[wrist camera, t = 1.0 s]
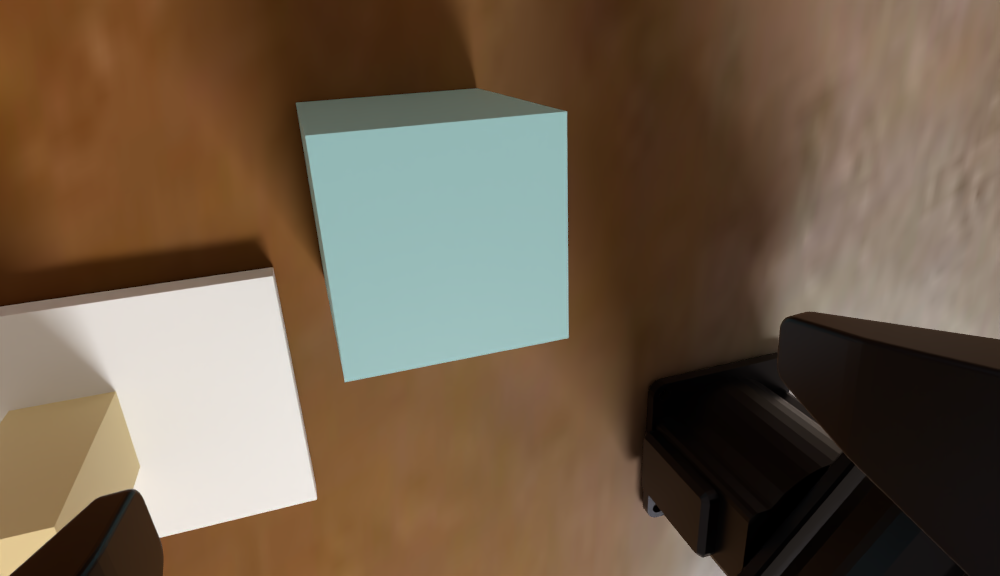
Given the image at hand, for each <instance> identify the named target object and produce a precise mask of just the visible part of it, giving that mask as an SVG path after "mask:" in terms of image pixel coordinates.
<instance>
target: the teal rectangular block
mask: <svg viewBox="0 0 1000 576" xmlns="http://www.w3.org/2000/svg"><path fill="white" fill-rule="evenodd" d="M296 108H297V114H298V120H299V126H300V132H301V138H302V144H303V150H304V156H305V162H306V168H307V174H308V181H309V187H310V193H311V199H312V205H313V211H314V217H315V223H316V229H317V235H318V241H319V247H320V253H321V260H322V266H323V272H324V278H325V283H326V288H327V293H328V298H329V303H330V308H331V314H332V319H333V324H334V329H335V334H336V339H337V344H338V349H339V354H340V359H341V364H342V369H343V375H344V380H345V382H348V381H353V380H358V379H364V378H369V377H374V376H379V375H384V374H389V373H394V372H399V371H404V370H409V369H414V368H419V367H424V366H429V365H435V364H440V363H445V362H450V361H455V360H460V359H465V358H470V357H475V356H480V355H485V354H490V353H495V352H500V351H505V350H511V349H516V348H521V347H526V346H531V345H536V344H541V343H546V342H551V341H556V340H561V339H566V338H569V323H568V181H567V111H564V110H560V109H556V108H552V107H548V106H544V105H540V104H536V103H533V102H529V101H525V100H521V99H517V98H513V97H509V96H505V95H502V94H498V93H494V92H490V91H486V90H482V89H478V88H474V89H461V90H448V91H436V92H423V93H410V94H398V95H385V96H372V97H360V98H347V99H334V100H322V101H309V102H296Z"/></svg>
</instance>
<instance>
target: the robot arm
mask: <svg viewBox="0 0 1000 576" xmlns="http://www.w3.org/2000/svg"><path fill="white" fill-rule="evenodd" d="M663 390H665V391H664V393H663V394H662V395H660V393H661V392H662V391H663ZM789 390H790V391H791V392H792V393H793V394H794V395H795V397H796V398H795V397H794V396H792V395H791V394H790V393H789ZM659 395H660V396H659ZM641 485H642V488H643V508H644V509H645V510H646V512H647V513H648V514H649V515H650V516H651V517H659V516H662V515H665V516H666V518H667V519H668V520H669V521H670V522H671V524H672V525H673V526H674V527H675V529H676V530H677V531H678V532H679V534H680V535H681V536H682V537H683V539H684V540H685V541H686V542H687V543H688V545H689V546H690V547H691V548H692V550H693V551H694V552H695V553H696V554H698V555H699V556H701V557H706V556H709V555H710V556H711V557H712V559H713V560H714V561H715V562H716V563H717V565H718V566H719V567H720V568H721V569H722V571H723V572H724V573H725V574H726V575H727V576H1000V339H993V338H986V337H979V336H973V335H966V334H959V333H952V332H946V331H939V330H932V329H925V328H919V327H912V326H905V325H898V324H891V323H885V322H878V321H871V320H864V319H858V318H851V317H844V316H837V315H831V314H824V313H817V312H804V313H800V314H797V315H793V316H789V317H787V318H785V319H784V320H783V322H782V324H781V326H780V334H779V346H778V353H774V354H769V355H765V356H760V357H756V358H752V359H747V360H743V361H738V362H734V363H729V364H725V365H720V366H716V367H712V368H707V369H703V370H698V371H694V372H689V373H685V374H681V375H676V376H672V377H667V378H663V379H659V380H657V381H655V382H654V383H653V384H652V385H651V386H650V388H649V391H648V406H647V427H646V434H645V437H644V441H643V463H642V484H641ZM655 504H656V505H655ZM9 576H163V549H162V544H161V541H160V538H159V535H158V533H157V530H156V528H155V525H154V523H153V521H152V518H151V516H150V513H149V511H148V508H147V506H146V503H145V501H144V499H143V497H142V495H141V494H140V492H139V491H137V490H135V489H127V490H123V491H119V492H115V493H112V494H108V495H104V496H100V497H98V498H96V499H95V500H94V501H92V502H91V503H90V504H89V505H88V506H87V507H86V508H85V509H83V510H82V511H81V512H80V513H79V514H78V515H77V516H76V517H74V518H73V519H72V520H71V521H70V522H69V523H68V524H67V525H65V526H64V527H63V528H62V529H61V530H60V531H59V532H58V533H56V534H55V535H54V536H53V537H52V538H51V539H50V540H49V541H47V542H46V543H45V544H44V545H43V546H42V547H41V548H40V549H38V550H37V551H36V552H35V553H34V554H33V555H32V556H31V557H29V558H28V559H27V560H26V561H25V562H24V563H23V564H22V565H20V566H19V567H18V568H17V569H16V570H15V571H14V572H13V573H11V574H10V575H9Z"/></svg>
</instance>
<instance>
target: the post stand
mask: <svg viewBox="0 0 1000 576" xmlns="http://www.w3.org/2000/svg"><path fill="white" fill-rule="evenodd" d="M127 489H135V490H137V491H139V492H140V494H141V495H142V497H143V499H144V501H145V503H146V506H147V508H148V511H149V513H150V516H151V518H152V521H153V523H154V525H155V528H156V530H157V533H158V535H159V538H161V537H165V536H169V535H173V534H177V533H181V532H185V531H189V530H194V529H198V528H202V527H206V526H210V525H214V524H218V523H222V522H226V521H231V520H235V519H239V518H243V517H247V516H251V515H255V514H259V513H263V512H268V511H272V510H276V509H280V508H284V507H288V506H292V505H296V504H300V503H305V502H309V501H313V500H317V492H316V483H315V478H314V473H313V468H312V462H311V457H310V452H309V447H308V442H307V437H306V432H305V427H304V422H303V417H302V412H301V406H300V401H299V396H298V391H297V386H296V381H295V376H294V371H293V366H292V361H291V356H290V350H289V345H288V340H287V335H286V330H285V325H284V320H283V315H282V310H281V305H280V300H279V294H278V289H277V284H276V279H275V274H274V269H273V267H270V268H263V269H256V270H249V271H242V272H236V273H229V274H222V275H215V276H208V277H201V278H194V279H187V280H180V281H173V282H166V283H160V284H153V285H146V286H139V287H132V288H125V289H118V290H111V291H104V292H97V293H91V294H84V295H77V296H70V297H63V298H56V299H49V300H42V301H35V302H28V303H21V304H15V305H8V306H1V307H0V576H9V575H10V574H11V573H13V572H14V571H15V570H16V569H17V568H18V567H19V566H20V565H22V564H23V563H24V562H25V561H26V560H27V559H28V558H29V557H31V556H32V555H33V554H34V553H35V552H36V551H37V550H38V549H40V548H41V547H42V546H43V545H44V544H45V543H46V542H47V541H49V540H50V539H51V538H52V537H53V536H54V535H55V534H56V533H58V532H59V531H60V530H61V529H62V528H63V527H64V526H65V525H67V524H68V523H69V522H70V521H71V520H72V519H73V518H74V517H76V516H77V515H78V514H79V513H80V512H81V511H82V510H83V509H85V508H86V507H87V506H88V505H89V504H90V503H91V502H92V501H94V500H95V499H96V498H98V497H100V496H104V495H108V494H112V493H115V492H119V491H123V490H127Z"/></svg>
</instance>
